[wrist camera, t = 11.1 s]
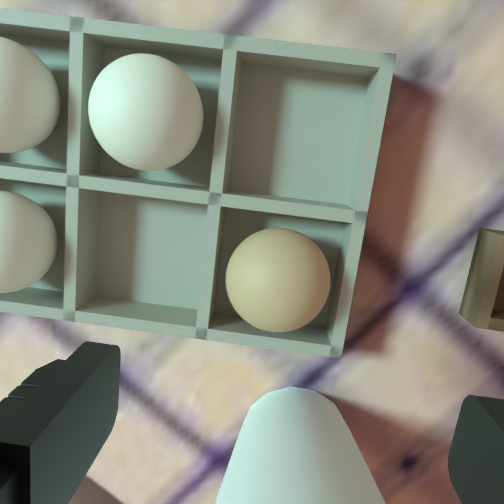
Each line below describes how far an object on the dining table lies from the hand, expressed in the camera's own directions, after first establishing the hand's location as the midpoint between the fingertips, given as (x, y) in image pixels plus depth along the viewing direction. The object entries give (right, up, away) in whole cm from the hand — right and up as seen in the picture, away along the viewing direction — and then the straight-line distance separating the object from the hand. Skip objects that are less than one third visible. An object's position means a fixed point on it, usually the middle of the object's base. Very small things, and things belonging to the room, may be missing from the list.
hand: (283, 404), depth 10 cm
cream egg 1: (-12, +11, +10) cm, 19 cm away
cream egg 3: (-5, +10, +9) cm, 14 cm away
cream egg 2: (-13, +4, +11) cm, 18 cm away
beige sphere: (0, +2, +11) cm, 11 cm away
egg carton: (-6, +7, +13) cm, 16 cm away
